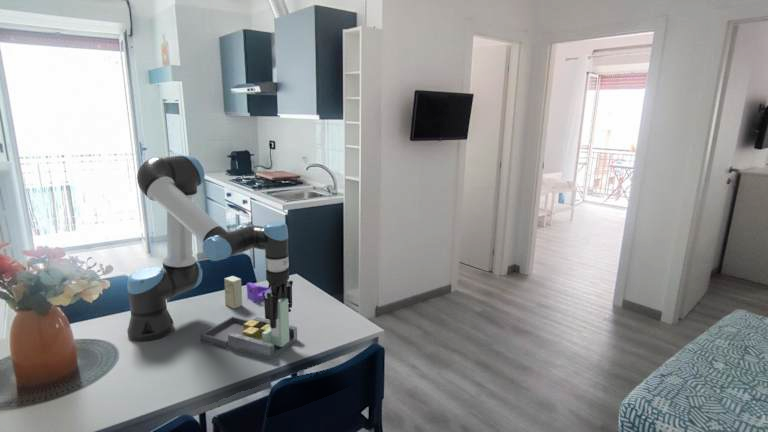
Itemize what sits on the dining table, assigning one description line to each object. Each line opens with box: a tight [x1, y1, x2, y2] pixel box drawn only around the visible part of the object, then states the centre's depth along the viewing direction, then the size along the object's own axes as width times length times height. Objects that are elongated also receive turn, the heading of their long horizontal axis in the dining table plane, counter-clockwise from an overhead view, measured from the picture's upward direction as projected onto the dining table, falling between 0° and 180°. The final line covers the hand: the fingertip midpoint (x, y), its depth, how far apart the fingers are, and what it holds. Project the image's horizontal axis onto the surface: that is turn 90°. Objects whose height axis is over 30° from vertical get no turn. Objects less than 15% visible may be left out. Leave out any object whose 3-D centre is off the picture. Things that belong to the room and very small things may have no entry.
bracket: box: [246, 282, 277, 304], centre depth 193 cm, size 12×7×7 cm, turn 130°
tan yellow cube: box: [260, 324, 270, 339], centre depth 155 cm, size 4×4×4 cm
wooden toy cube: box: [243, 327, 260, 340], centre depth 152 cm, size 4×4×4 cm
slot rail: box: [228, 316, 298, 361], centre depth 153 cm, size 18×15×5 cm
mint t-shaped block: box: [262, 298, 290, 347], centre depth 149 cm, size 6×9×16 cm
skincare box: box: [223, 275, 243, 309], centre depth 183 cm, size 6×4×12 cm
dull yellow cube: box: [244, 319, 260, 330], centre depth 158 cm, size 4×4×4 cm
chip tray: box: [200, 315, 250, 349], centre depth 160 cm, size 12×16×2 cm
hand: (279, 332), depth 149 cm, fingers closed on mint t-shaped block, 4 cm apart
